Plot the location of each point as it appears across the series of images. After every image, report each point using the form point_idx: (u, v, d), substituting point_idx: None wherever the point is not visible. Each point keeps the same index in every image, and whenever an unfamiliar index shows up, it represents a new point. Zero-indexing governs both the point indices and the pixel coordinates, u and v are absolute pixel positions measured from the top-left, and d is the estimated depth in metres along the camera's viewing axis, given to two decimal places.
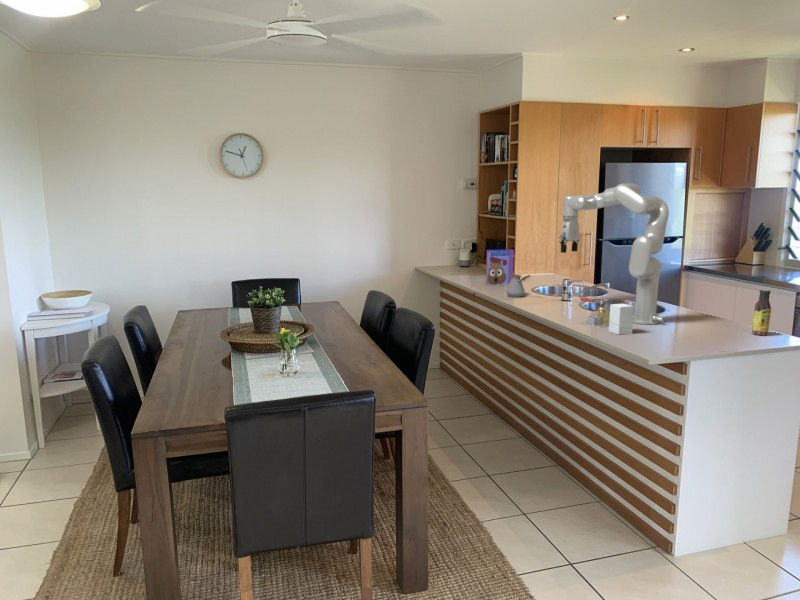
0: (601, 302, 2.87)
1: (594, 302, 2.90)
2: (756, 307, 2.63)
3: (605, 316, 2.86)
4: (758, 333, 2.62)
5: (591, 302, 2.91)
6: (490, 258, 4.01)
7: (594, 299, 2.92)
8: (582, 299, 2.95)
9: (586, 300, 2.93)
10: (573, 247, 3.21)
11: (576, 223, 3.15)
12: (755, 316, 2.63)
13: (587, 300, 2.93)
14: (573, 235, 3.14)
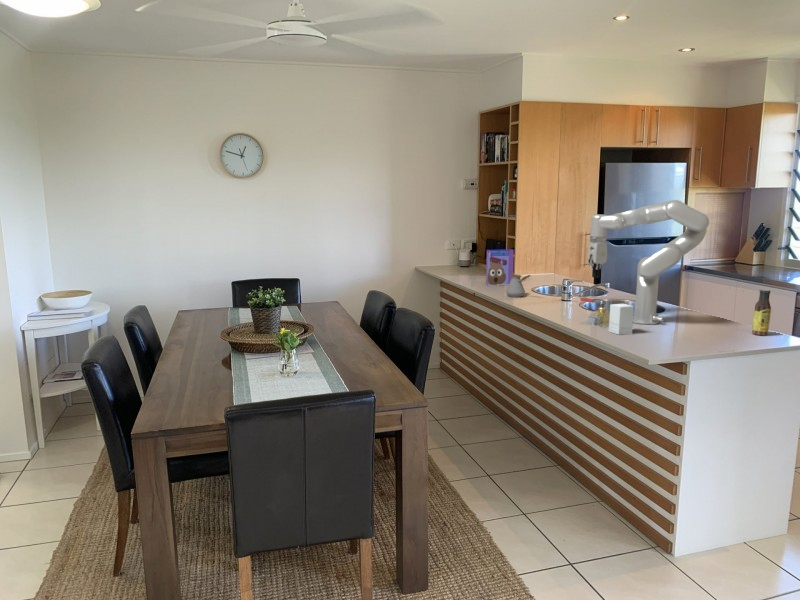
0: (601, 302, 2.87)
1: (594, 302, 2.90)
2: (756, 307, 2.63)
3: (605, 316, 2.86)
4: (758, 333, 2.62)
5: (591, 302, 2.91)
6: (490, 258, 4.01)
7: (594, 299, 2.92)
8: (582, 299, 2.95)
9: (586, 300, 2.93)
10: None
11: (605, 244, 2.92)
12: (755, 316, 2.63)
13: (587, 300, 2.93)
14: (601, 257, 2.91)
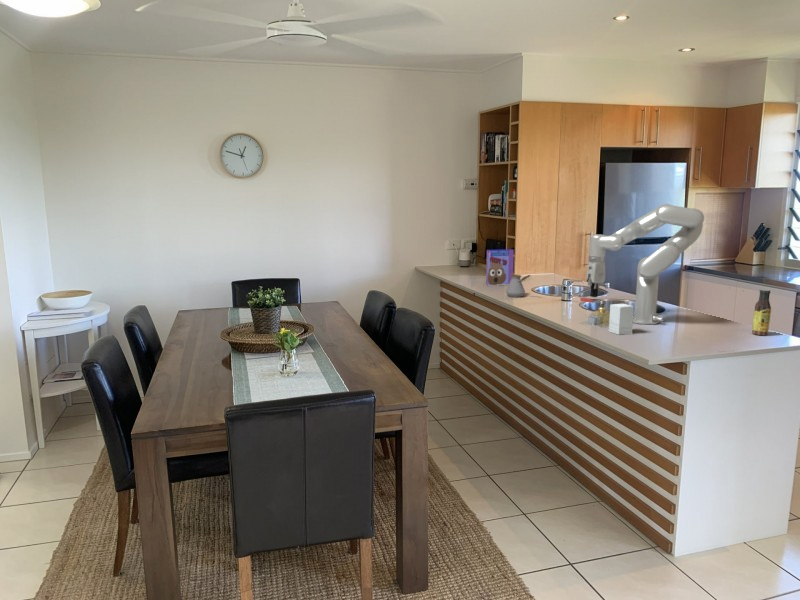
0: (601, 302, 2.87)
1: (594, 302, 2.90)
2: (756, 307, 2.63)
3: (605, 316, 2.86)
4: (758, 333, 2.62)
5: (591, 302, 2.91)
6: (490, 258, 4.01)
7: (594, 299, 2.92)
8: (582, 299, 2.95)
9: (586, 300, 2.93)
10: None
11: (603, 264, 2.94)
12: (755, 316, 2.63)
13: (587, 300, 2.93)
14: (599, 277, 2.93)
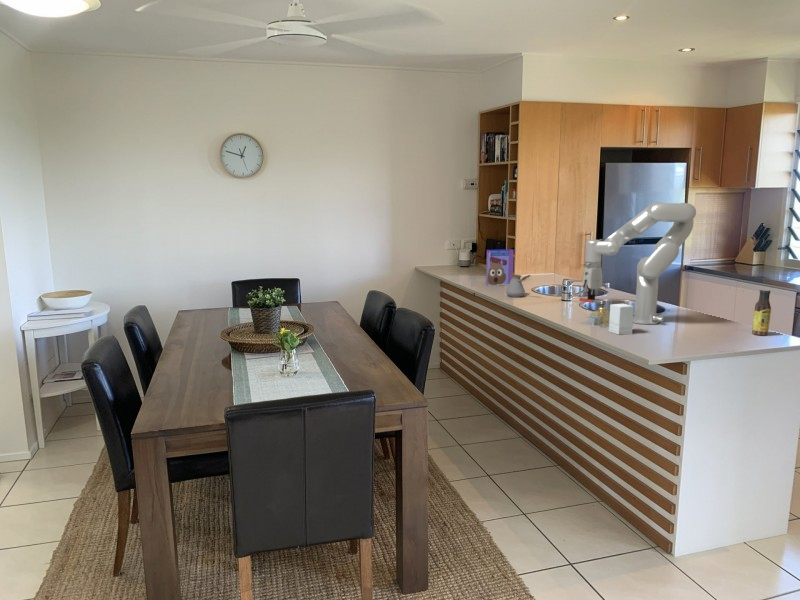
0: (601, 302, 2.87)
1: (594, 302, 2.90)
2: (756, 307, 2.63)
3: (605, 316, 2.86)
4: (758, 333, 2.62)
5: (591, 302, 2.91)
6: (490, 258, 4.01)
7: (593, 299, 2.91)
8: (581, 299, 2.94)
9: (585, 300, 2.93)
10: None
11: (599, 269, 2.92)
12: (755, 316, 2.63)
13: (586, 300, 2.92)
14: (596, 282, 2.91)
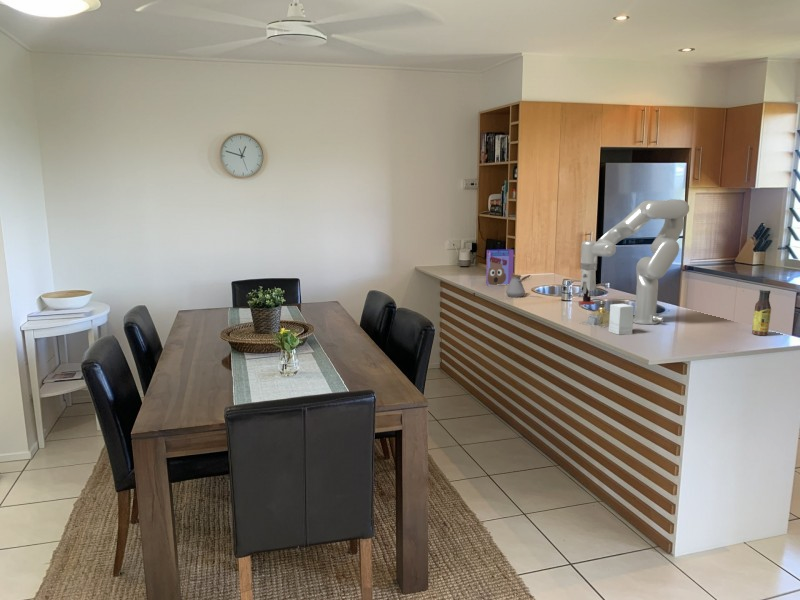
0: (604, 302, 2.87)
1: (595, 303, 2.87)
2: (756, 307, 2.63)
3: (605, 316, 2.86)
4: (758, 333, 2.62)
5: None
6: (490, 258, 4.01)
7: None
8: (582, 302, 2.86)
9: (587, 303, 2.86)
10: None
11: None
12: (755, 316, 2.63)
13: (588, 303, 2.86)
14: (593, 284, 2.87)
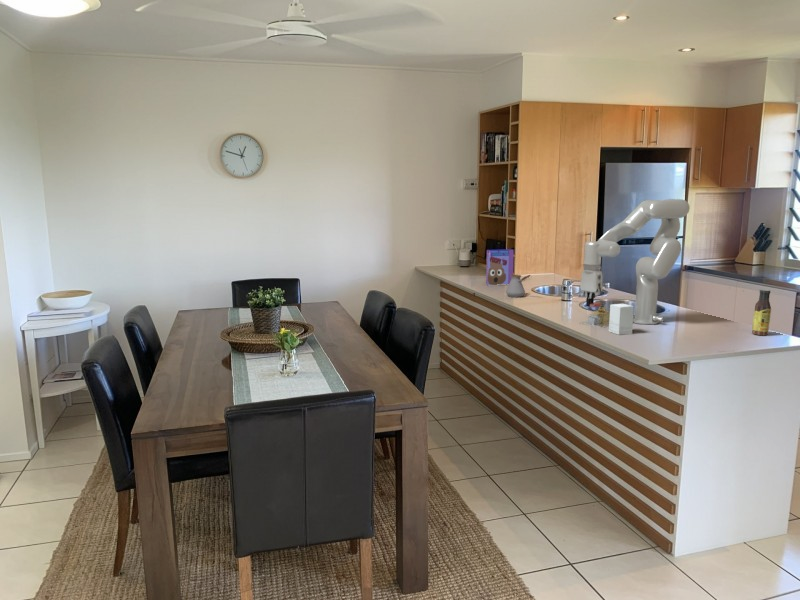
0: (605, 302, 2.87)
1: (600, 304, 2.85)
2: (756, 307, 2.63)
3: (605, 316, 2.86)
4: (758, 333, 2.62)
5: None
6: (490, 258, 4.01)
7: (597, 302, 2.85)
8: (595, 305, 2.80)
9: (597, 305, 2.81)
10: None
11: None
12: (755, 316, 2.63)
13: (598, 304, 2.82)
14: None
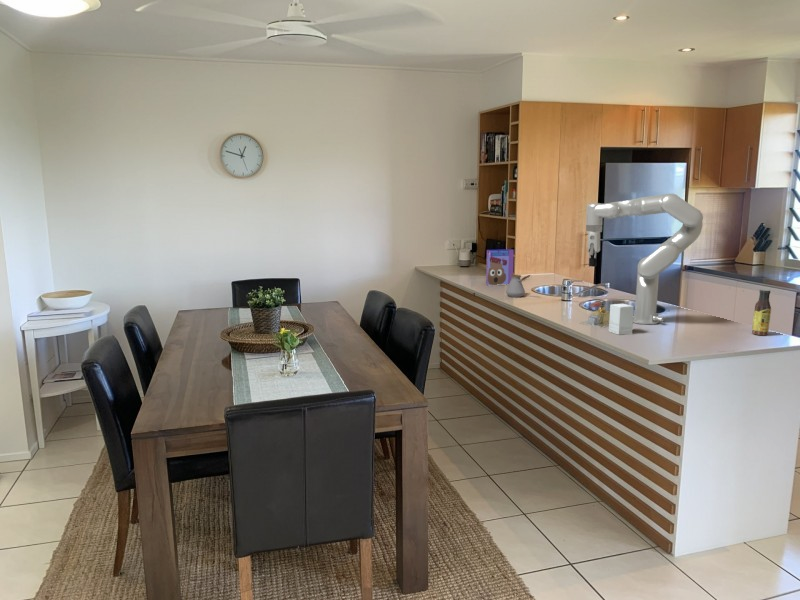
0: (605, 302, 2.87)
1: (600, 304, 2.85)
2: (756, 307, 2.63)
3: (605, 316, 2.86)
4: (758, 333, 2.62)
5: None
6: (490, 258, 4.01)
7: (597, 302, 2.85)
8: (595, 305, 2.80)
9: (597, 305, 2.81)
10: None
11: None
12: (755, 316, 2.63)
13: (598, 304, 2.82)
14: (599, 246, 2.92)
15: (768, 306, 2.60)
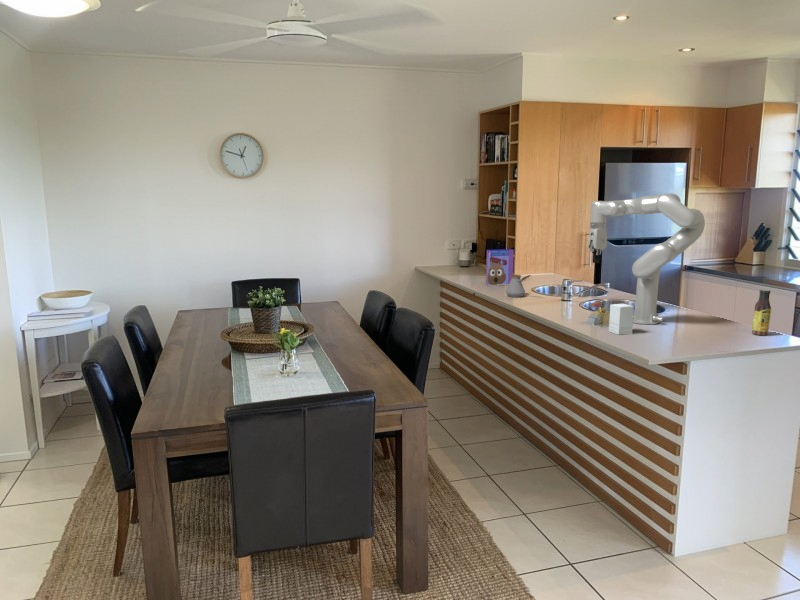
0: (605, 302, 2.87)
1: (600, 304, 2.85)
2: (756, 307, 2.63)
3: (605, 316, 2.86)
4: (758, 333, 2.62)
5: None
6: (490, 258, 4.01)
7: (597, 302, 2.85)
8: (595, 305, 2.80)
9: (597, 305, 2.81)
10: None
11: (604, 230, 2.98)
12: (755, 316, 2.63)
13: (598, 304, 2.82)
14: (601, 243, 2.97)
15: (768, 306, 2.60)
